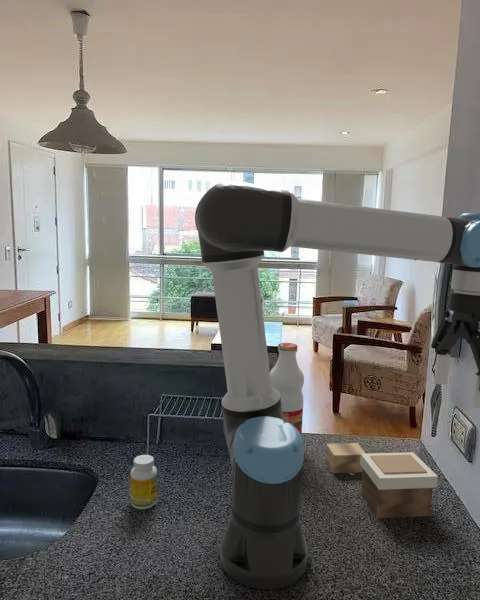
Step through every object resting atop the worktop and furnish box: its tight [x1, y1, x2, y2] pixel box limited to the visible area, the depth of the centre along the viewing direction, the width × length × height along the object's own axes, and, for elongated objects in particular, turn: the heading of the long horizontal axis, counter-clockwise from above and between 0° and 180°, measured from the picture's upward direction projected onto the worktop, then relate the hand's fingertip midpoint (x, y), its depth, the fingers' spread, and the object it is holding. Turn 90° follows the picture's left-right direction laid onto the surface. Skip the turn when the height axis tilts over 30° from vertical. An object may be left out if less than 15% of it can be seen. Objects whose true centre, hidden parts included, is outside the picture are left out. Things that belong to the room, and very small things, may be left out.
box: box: [360, 469, 434, 519], centre depth 97 cm, size 11×9×7 cm
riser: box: [324, 442, 367, 474], centre depth 112 cm, size 8×6×5 cm
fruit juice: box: [270, 342, 305, 437], centre depth 119 cm, size 9×9×28 cm
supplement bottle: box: [129, 454, 158, 510], centre depth 95 cm, size 5×5×10 cm
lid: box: [360, 451, 439, 490], centre depth 96 cm, size 12×10×3 cm
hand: (458, 394), depth 95 cm, fingers open, 13 cm apart
